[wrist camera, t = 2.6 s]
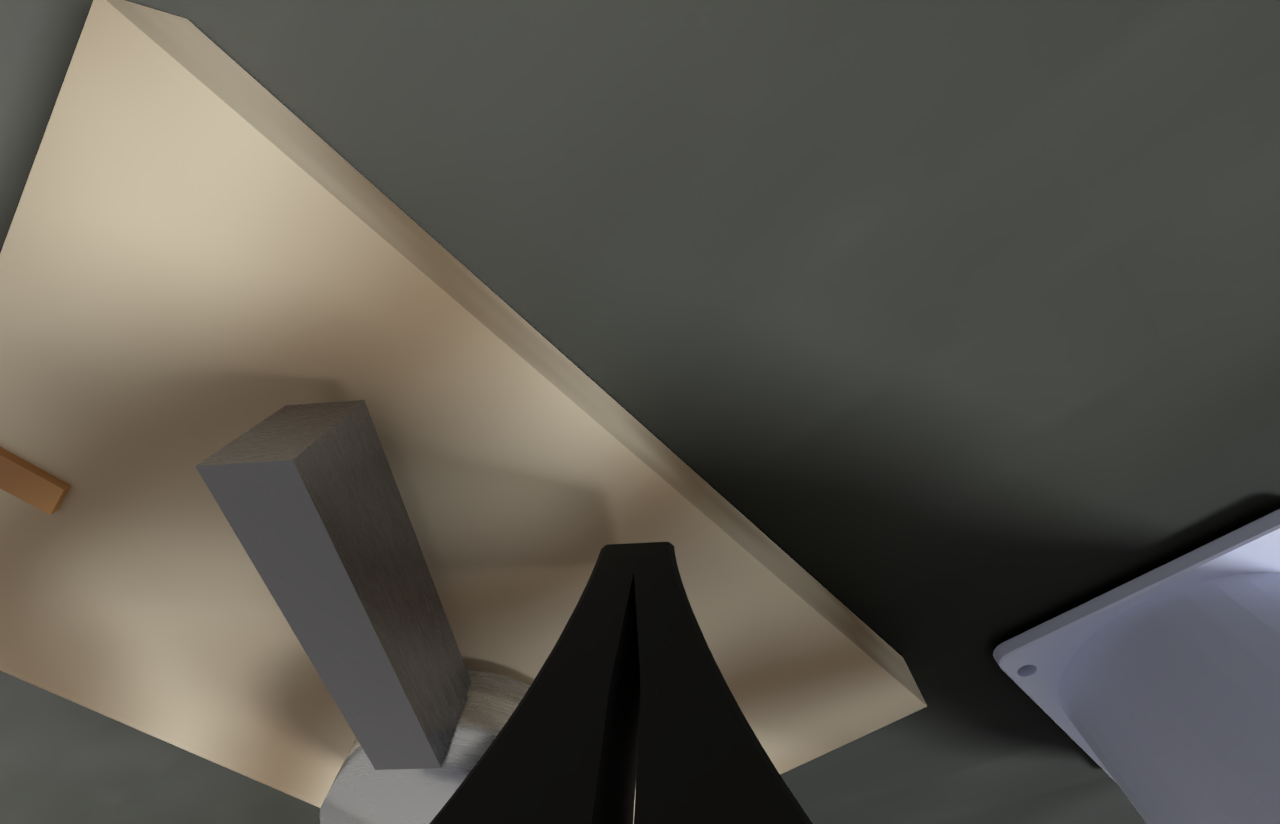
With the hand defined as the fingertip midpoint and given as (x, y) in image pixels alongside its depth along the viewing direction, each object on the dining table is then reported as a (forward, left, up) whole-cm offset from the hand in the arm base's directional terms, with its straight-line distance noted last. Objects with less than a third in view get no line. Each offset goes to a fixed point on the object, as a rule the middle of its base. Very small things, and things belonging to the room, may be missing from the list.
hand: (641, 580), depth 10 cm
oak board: (+1, +8, -3) cm, 8 cm away
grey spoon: (+1, +6, -1) cm, 6 cm away
